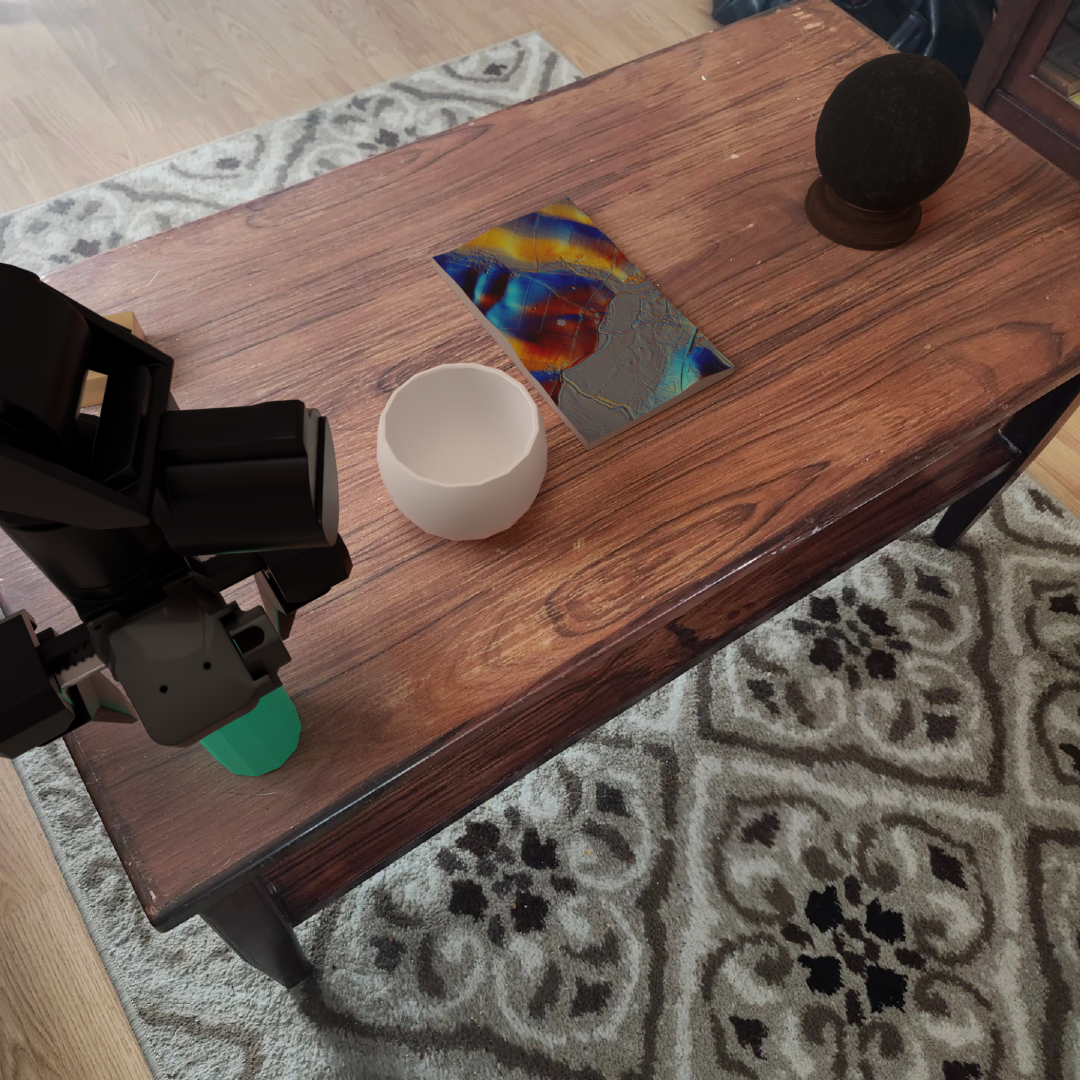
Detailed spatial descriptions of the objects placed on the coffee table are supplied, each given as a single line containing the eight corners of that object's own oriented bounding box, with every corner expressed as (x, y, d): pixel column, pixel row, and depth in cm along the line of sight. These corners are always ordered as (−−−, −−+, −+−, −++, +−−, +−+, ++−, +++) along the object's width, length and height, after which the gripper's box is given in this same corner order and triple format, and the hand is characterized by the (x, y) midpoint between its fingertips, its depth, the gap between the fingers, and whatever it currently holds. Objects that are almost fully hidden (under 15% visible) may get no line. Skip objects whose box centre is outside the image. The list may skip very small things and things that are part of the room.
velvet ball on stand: (931, 180, 92) (996, 33, 79) (927, 268, 85) (997, 123, 73) (801, 159, 94) (844, 11, 81) (787, 244, 87) (831, 97, 74)
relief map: (732, 373, 78) (737, 357, 77) (587, 450, 74) (589, 435, 72) (567, 208, 89) (568, 191, 88) (432, 267, 85) (430, 250, 83)
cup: (495, 593, 67) (490, 524, 59) (358, 524, 70) (335, 448, 62) (573, 475, 73) (579, 396, 64) (443, 415, 76) (433, 332, 67)
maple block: (62, 351, 79) (47, 326, 76) (145, 335, 80) (132, 310, 78) (64, 411, 76) (47, 387, 73) (150, 393, 77) (137, 369, 74)
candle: (195, 727, 62) (128, 655, 51) (271, 675, 64) (222, 595, 53) (240, 795, 59) (180, 734, 49) (318, 738, 61) (276, 668, 51)
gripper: (-70, 809, 33) (101, 889, 46) (382, 564, 39) (419, 699, 52) (-143, 583, 38) (31, 716, 51) (270, 394, 43) (330, 558, 57)
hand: (209, 673), depth 53 cm, fingers open, 9 cm apart
